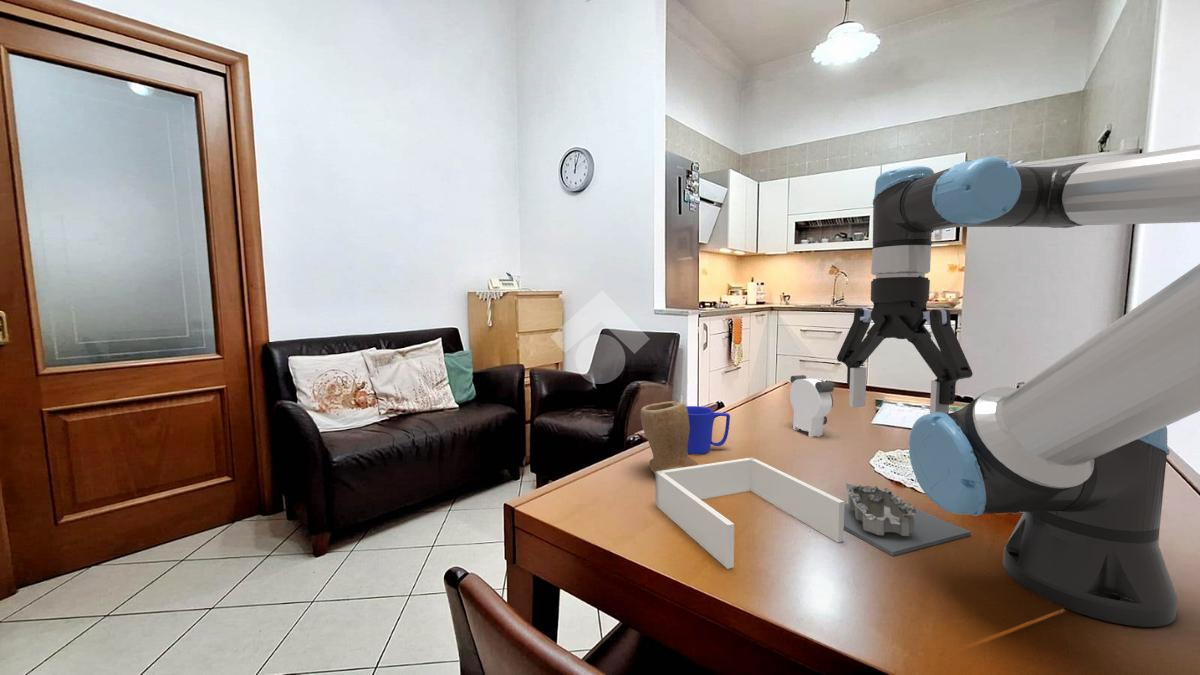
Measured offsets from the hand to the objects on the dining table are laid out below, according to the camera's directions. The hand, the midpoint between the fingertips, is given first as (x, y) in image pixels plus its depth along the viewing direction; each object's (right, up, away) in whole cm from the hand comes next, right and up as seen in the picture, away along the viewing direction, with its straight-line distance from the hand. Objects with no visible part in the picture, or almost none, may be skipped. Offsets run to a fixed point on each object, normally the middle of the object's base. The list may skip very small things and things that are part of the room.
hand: (894, 415), depth 74 cm
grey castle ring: (0, -18, +1) cm, 18 cm away
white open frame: (-23, -17, +4) cm, 29 cm away
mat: (0, -17, +2) cm, 17 cm away
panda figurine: (+8, -13, +49) cm, 52 cm away
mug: (-22, -15, +37) cm, 45 cm away
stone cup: (-31, -16, +22) cm, 41 cm away
